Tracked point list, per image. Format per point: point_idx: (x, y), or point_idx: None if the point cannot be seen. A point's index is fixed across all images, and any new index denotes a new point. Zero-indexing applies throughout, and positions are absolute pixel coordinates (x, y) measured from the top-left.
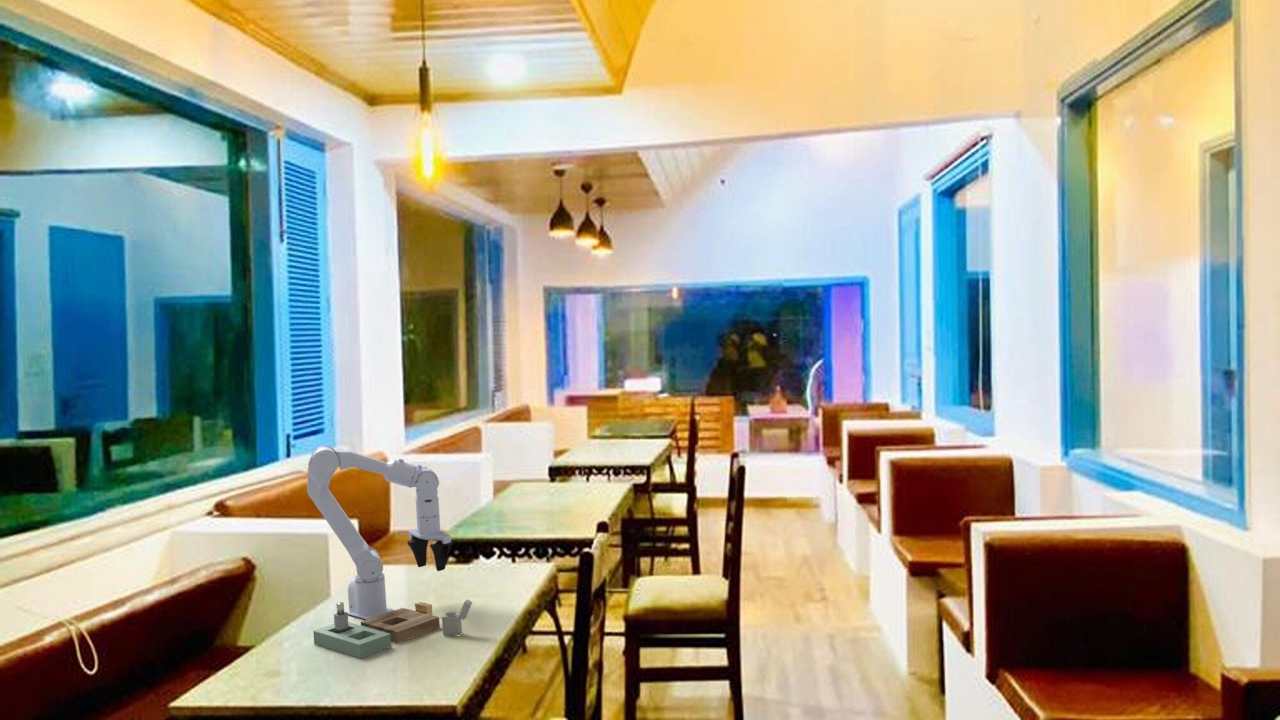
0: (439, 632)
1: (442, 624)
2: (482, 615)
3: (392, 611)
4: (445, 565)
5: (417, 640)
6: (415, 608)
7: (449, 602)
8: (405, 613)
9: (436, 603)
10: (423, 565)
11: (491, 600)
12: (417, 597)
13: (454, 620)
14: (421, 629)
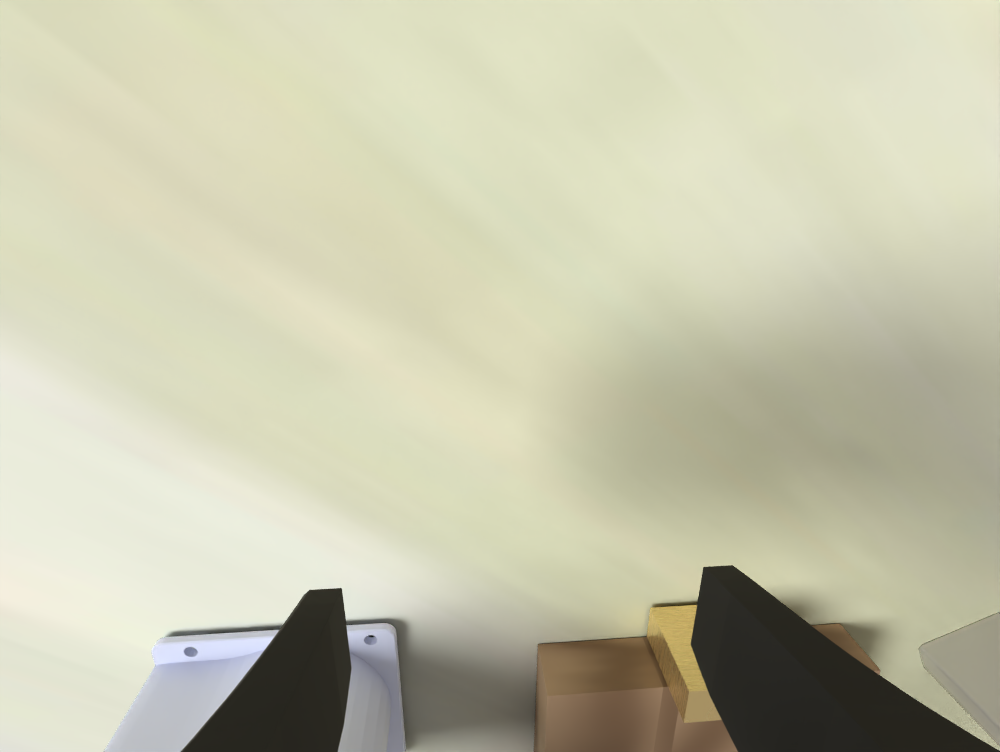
0: (883, 656)
1: (972, 716)
2: (960, 393)
3: (550, 750)
4: (763, 589)
5: None
6: (672, 694)
7: (558, 329)
8: (652, 731)
9: (489, 392)
10: (342, 626)
11: (837, 119)
12: (225, 376)
13: None
14: None
